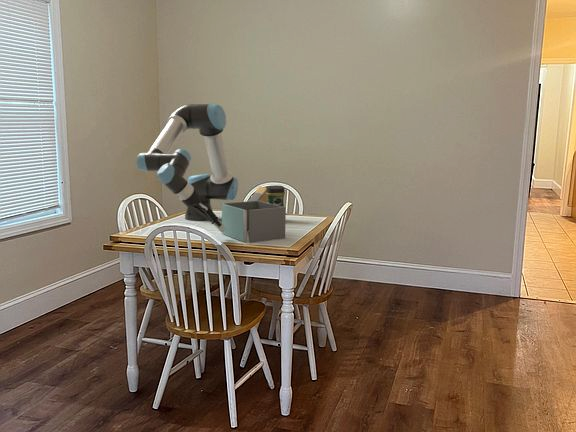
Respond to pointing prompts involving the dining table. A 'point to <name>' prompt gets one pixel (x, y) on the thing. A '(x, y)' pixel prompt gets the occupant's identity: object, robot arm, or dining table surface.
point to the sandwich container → (259, 195)
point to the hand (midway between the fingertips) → (223, 230)
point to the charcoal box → (263, 220)
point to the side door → (234, 222)
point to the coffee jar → (275, 195)
